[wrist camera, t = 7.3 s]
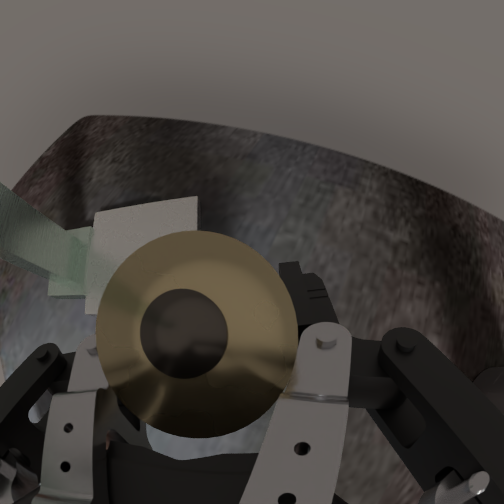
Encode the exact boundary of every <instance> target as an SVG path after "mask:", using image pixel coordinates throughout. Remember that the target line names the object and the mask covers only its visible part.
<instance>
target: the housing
mask: <svg viewBox="0 0 504 504" xmlns="http://www.w3.org/2000/svg"><path fill="white" fill-rule="evenodd" d="M96 346H97V351H98V357H99V361H100V364H101V367H102V370H103V372H104V375H105V377H106V379H107V381H108V383H109V385H110V387H111V388H112V390H113V391H114V393H115V394H116V396H117V397H118V398H119V400H120V401H121V402H122V403H123V404H124V405H125V406H126V407H127V408H128V409H129V410H130V411H131V412H132V413H133V414H134V415H135V416H137V417H138V418H139V419H141V420H142V421H144V422H145V423H147V424H149V425H150V426H152V427H154V428H156V429H158V430H161V431H163V432H166V433H169V434H172V435H176V436H180V437H188V438H211V437H218V436H223V435H226V434H229V433H232V432H235V431H237V430H240V429H242V428H244V427H246V426H248V425H249V424H251V423H252V422H254V421H255V420H257V419H258V418H260V417H261V416H262V415H263V414H264V413H265V412H266V411H267V410H269V409H270V408H271V406H272V405H273V404H274V403H275V402H276V400H277V399H278V398H279V396H280V394H281V393H282V392H283V390H284V388H285V387H286V385H287V383H288V381H289V378H290V376H291V373H292V371H293V368H294V364H295V360H296V356H297V347H298V325H297V319H296V313H295V309H294V306H293V303H292V300H291V297H290V295H289V293H288V291H287V288H286V286H285V284H284V283H283V281H282V280H281V278H280V276H279V275H278V273H277V272H276V271H275V270H274V268H273V267H272V266H271V265H270V264H269V263H268V261H267V260H265V259H264V258H263V257H262V256H261V255H260V254H259V253H258V252H256V251H255V250H253V249H252V248H250V247H249V246H248V245H246V244H244V243H242V242H240V241H238V240H236V239H234V238H231V237H229V236H226V235H223V234H219V233H214V232H209V231H197V230H194V231H181V232H176V233H171V234H168V235H165V236H161V237H159V238H156V239H154V240H152V241H150V242H148V243H146V244H145V245H143V246H142V247H140V248H138V249H137V250H136V251H135V252H133V253H132V254H131V255H130V256H129V257H128V258H127V259H126V260H125V261H124V262H123V263H122V264H121V265H120V266H119V267H118V269H117V270H116V271H115V273H114V274H113V276H112V277H111V279H110V281H109V282H108V284H107V286H106V288H105V291H104V293H103V295H102V298H101V301H100V305H99V308H98V314H97V320H96Z"/></svg>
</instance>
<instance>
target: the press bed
mask: <svg viewBox="0 0 504 504" xmlns="http://www.w3.org/2000/svg"><path fill="white" fill-rule="evenodd" d="M194 230H197V231H201V202H200V200H199V198H198V196H193V197H186V198H179V199H172V200H165V201H158V202H152V203H146V204H140V205H134V206H128V207H123V208H117V209H112V210H106V211H101V212H96V213H95V218H94V224H93V228H92V227H91V226H89V227H83V228H78V229H72V230H67V231H66V230H64V229H63V228H61V227H60V226H58V225H57V224H55V223H54V222H53V221H51V220H50V219H48V218H47V217H46V216H44V215H43V214H41V213H40V212H39V211H37V210H36V209H34V208H33V207H32V206H30V205H29V204H28V203H26V202H25V201H24V200H22V199H21V198H20V197H18V196H17V195H16V194H15V193H13V192H12V191H11V190H9V189H8V188H7V187H6V186H4V185H3V184H2V183H1V182H0V258H1V259H3V260H6V261H8V262H10V263H12V264H14V265H16V266H18V267H21V268H23V269H25V270H27V271H30V272H32V273H34V274H37V275H39V276H41V277H44V278H46V279H49V287H48V296H50V297H53V298H56V299H86V303H85V314H87V315H91V316H97V314H98V308H99V305H100V301H101V298H102V295H103V293H104V291H105V288H106V286H107V284H108V282H109V281H110V279H111V277H112V276H113V274H114V273H115V271H116V270H117V269H118V267H119V266H120V265H121V264H122V263H123V262H124V261H125V260H126V259H127V258H128V257H129V256H130V255H131V254H132V253H133V252H135V251H136V250H137V249H138V248H140V247H142V246H143V245H145V244H146V243H148V242H150V241H152V240H154V239H156V238H159V237H161V236H165V235H168V234H171V233H176V232H181V231H194Z"/></svg>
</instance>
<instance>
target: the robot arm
mask: <svg viewBox="0 0 504 504" xmlns="http://www.w3.org/2000/svg"><path fill="white" fill-rule="evenodd" d="M279 276H280V278H281V280H282V281H283V283H284V284H285V286H286V288H287V291H288V293H289V295H290V297H291V300H292V303H293V306H294V309H295V313H296V319H297V325H298V347H297V356H296V360H295V364H294V368H293V371H292V373H291V376H290V378H289V381H288V385H287V388H286V391H285V393H283V392H282V393H281V394H280V396H279V398H278V400H277V403H276V406H275V409H274V412H273V415H272V418H271V421H270V424H269V427H268V430H267V433H266V435H265V438H264V441H263V444H262V447H261V449H260V452H259V453H247V454H220V455H215V456H209V457H203V458H197V459H190V460H176V459H173V458H171V457H168V456H165V455H163V454H160V453H158V452H155V451H153V450H152V447H151V445H150V443H149V441H148V438H147V433H146V423H145V422H144V421H142V420H141V419H139V418H138V417H137V416H135V415H134V414H133V413H132V412H131V411H130V410H129V409H128V408H127V407H126V406H125V405H124V404H123V403H122V402H121V401H120V400H119V398H118V397H117V396H116V394H115V393H114V391H113V390H112V388H111V387H110V385H109V383H108V381H107V379H106V377H105V375H104V372H103V370H102V367H101V364H100V361H99V357H98V351H97V346H96V334H93V335H91V336H89V337H87V338H85V339H84V340H83V341H82V342H81V343H80V344H79V346H78V348H77V351H76V352H72V353H66V354H62V353H61V351H60V349H59V348H58V346H57V345H56V344H54V343H47V344H44V345H41V346H40V347H38V348H37V349H36V350H35V351H34V352H33V353H32V354H31V355H30V356H29V357H28V358H27V359H26V360H25V361H24V362H23V363H22V364H21V365H20V366H19V367H18V368H17V369H16V370H15V371H14V372H13V374H12V375H11V376H10V377H9V378H8V379H7V380H6V381H5V382H4V383H3V385H2V386H1V387H0V504H348V503H347V502H345V501H344V500H343V499H341V498H340V497H339V496H337V495H336V494H335V493H334V491H335V486H336V482H337V477H338V472H339V467H340V462H341V456H342V450H343V444H344V438H345V431H346V424H347V416H348V408H349V407H354V408H366V410H367V412H368V413H369V414H370V416H371V417H372V419H373V420H374V421H375V423H376V424H377V426H378V427H379V429H380V430H381V431H382V433H383V434H384V436H385V437H386V438H387V440H388V441H389V443H390V444H391V445H392V447H393V448H394V450H395V451H396V452H397V454H398V455H399V457H400V458H401V460H402V461H403V462H404V464H405V465H406V467H407V468H408V469H409V471H410V472H411V474H412V475H413V476H414V478H415V479H416V481H417V482H418V484H419V485H420V486H421V488H422V489H423V491H424V493H423V495H422V496H421V498H420V500H419V503H418V504H504V367H492V368H488V369H486V370H484V371H483V372H482V373H481V374H479V376H478V377H477V378H476V379H475V380H474V382H472V381H471V380H470V379H469V378H468V377H466V376H465V375H464V374H463V373H462V372H461V371H460V370H459V369H458V368H457V367H456V366H455V365H454V364H453V363H452V362H451V361H450V360H449V359H448V358H447V357H446V356H445V355H444V354H443V353H442V352H441V351H440V350H439V349H437V348H436V347H435V346H434V345H433V344H432V343H431V342H430V341H429V340H428V339H427V338H426V337H425V336H423V335H422V334H421V333H420V332H418V331H416V330H414V329H411V328H405V327H400V328H394V329H392V330H390V331H388V332H387V333H386V334H385V335H384V336H383V338H382V341H374V340H363V339H358V338H355V337H352V336H351V334H350V332H349V331H348V330H347V329H346V328H345V327H343V326H341V325H339V322H338V319H337V317H336V314H335V311H334V309H333V306H332V304H331V301H330V298H329V297H328V293H327V291H326V288H325V286H324V283H323V281H322V279H321V278H319V277H318V276H317V275H316V274H314V273H307V274H302V272H301V268H300V265H299V262H298V261H295V262H285V263H279ZM46 389H48V391H49V392H50V393H51V394H52V395H53V397H52V400H51V405H50V409H49V410H48V412H47V413H46V414H45V415H44V417H43V418H42V419H41V420H40V421H39V422H38V423H32V422H30V420H29V418H28V413H29V410H30V408H31V407H32V406H33V405H34V404H35V402H36V401H37V400H38V399H39V398H40V396H41V395H42V394H43V393H44V392H45V391H46ZM40 483H41V485H40Z"/></svg>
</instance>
